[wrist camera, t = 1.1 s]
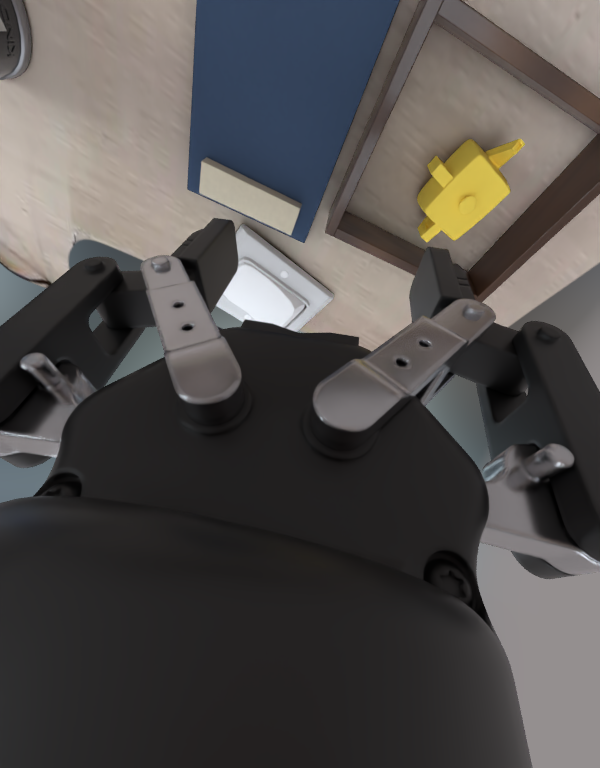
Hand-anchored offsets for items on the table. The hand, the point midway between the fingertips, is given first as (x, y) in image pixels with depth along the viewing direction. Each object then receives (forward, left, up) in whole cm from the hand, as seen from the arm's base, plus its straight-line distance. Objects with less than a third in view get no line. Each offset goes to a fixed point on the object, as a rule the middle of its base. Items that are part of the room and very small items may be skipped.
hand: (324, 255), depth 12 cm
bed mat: (-6, +2, -19) cm, 20 cm away
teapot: (+9, +2, -19) cm, 21 cm away
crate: (+9, +2, -19) cm, 21 cm away
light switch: (-2, -16, -19) cm, 25 cm away
